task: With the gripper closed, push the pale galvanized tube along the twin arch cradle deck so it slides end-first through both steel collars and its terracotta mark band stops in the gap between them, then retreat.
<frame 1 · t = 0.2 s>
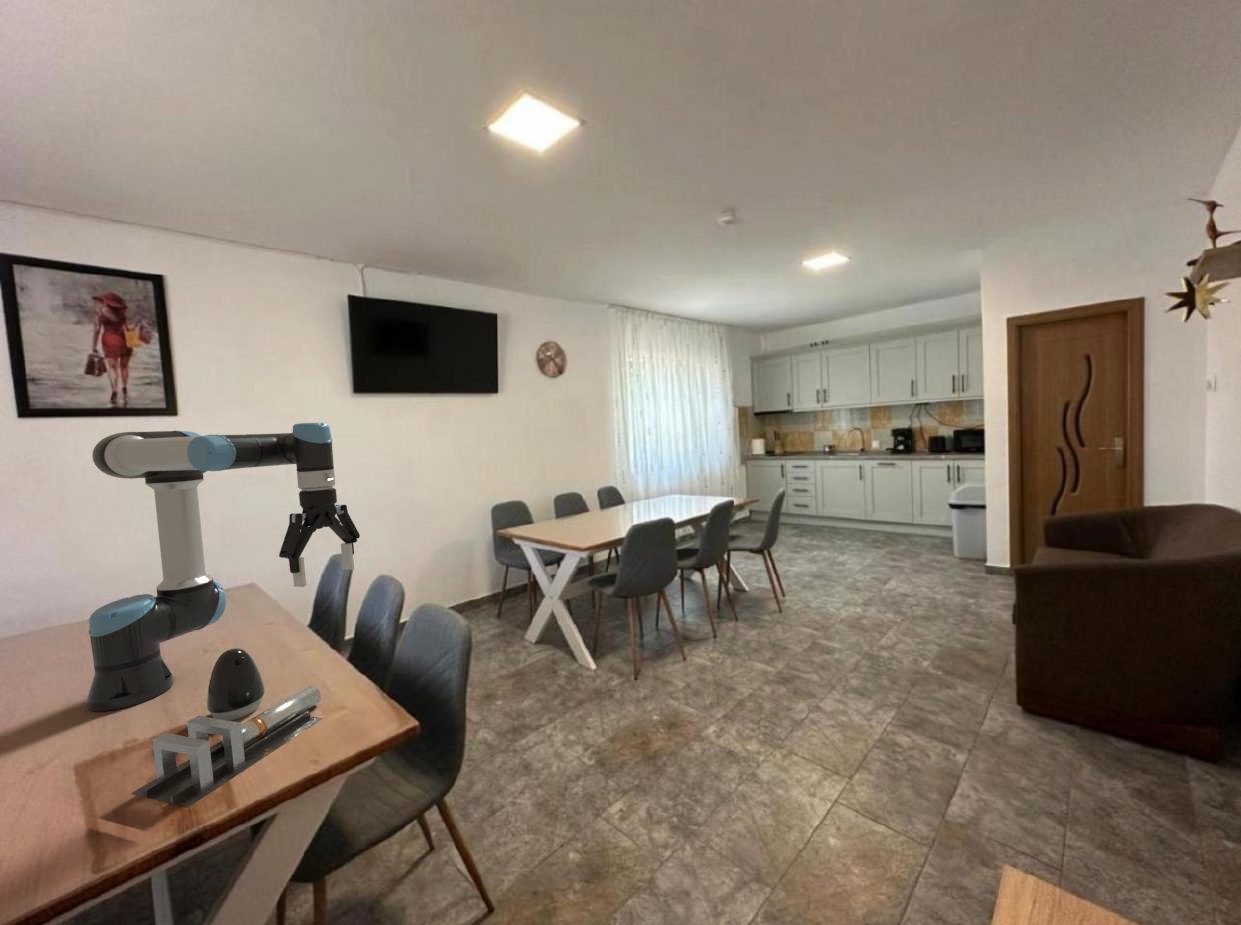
hand: (325, 577, 119), 28 cm above the table, fingers open, 13 cm apart
black tall rounded dome: (238, 716, 112), on the table
tube: (276, 727, 105), point 1 cm above the table, touching twin arch cradle
twin arch cradle: (237, 756, 97), on the table
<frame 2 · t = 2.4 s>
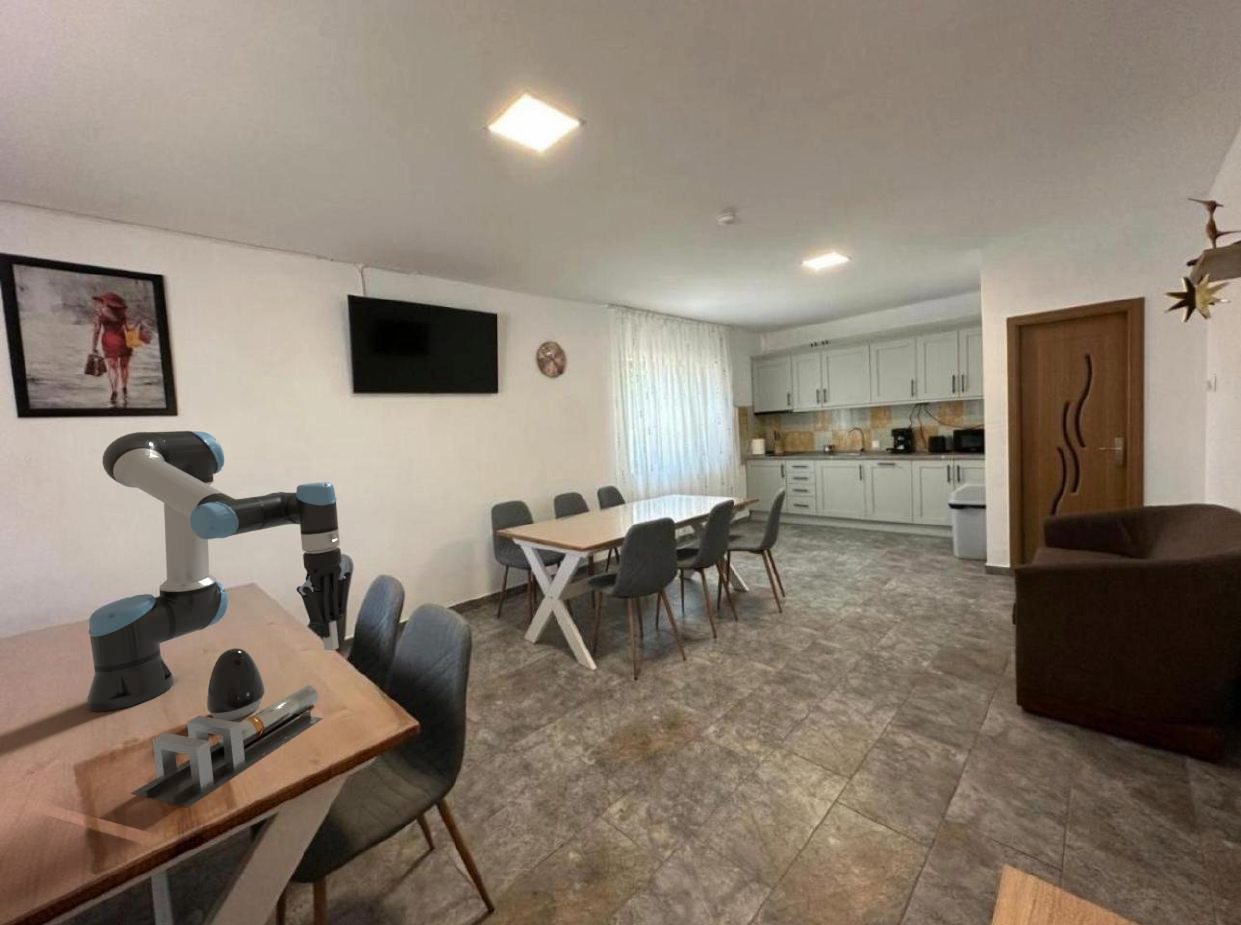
hand: (331, 648, 118), 12 cm above the table, fingers closed
tube: (276, 726, 105), point 1 cm above the table, tilted 21°, touching twin arch cradle
everything else where it was.
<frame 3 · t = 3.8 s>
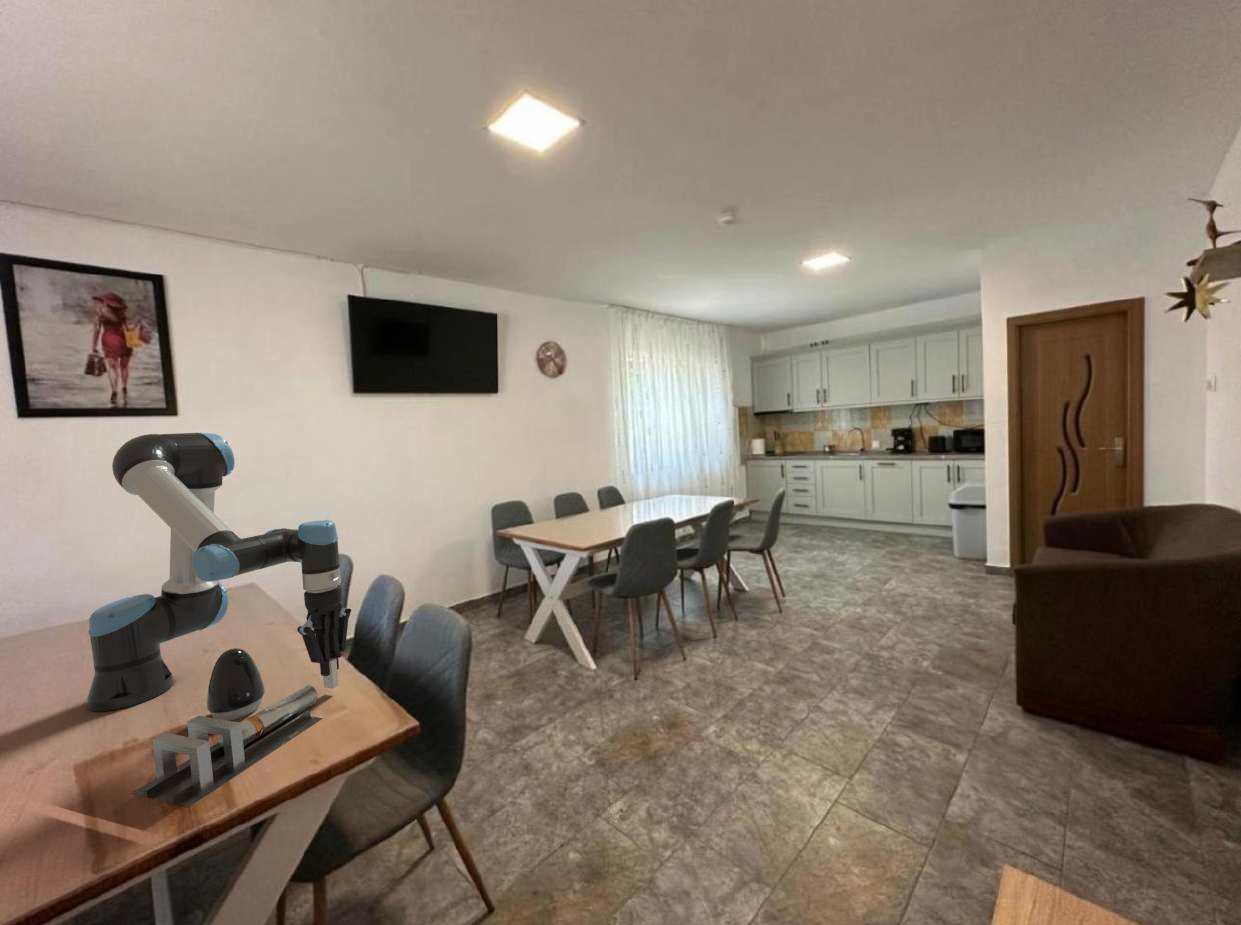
hand: (331, 686, 118), 3 cm above the table, fingers closed
nothing on the table moved.
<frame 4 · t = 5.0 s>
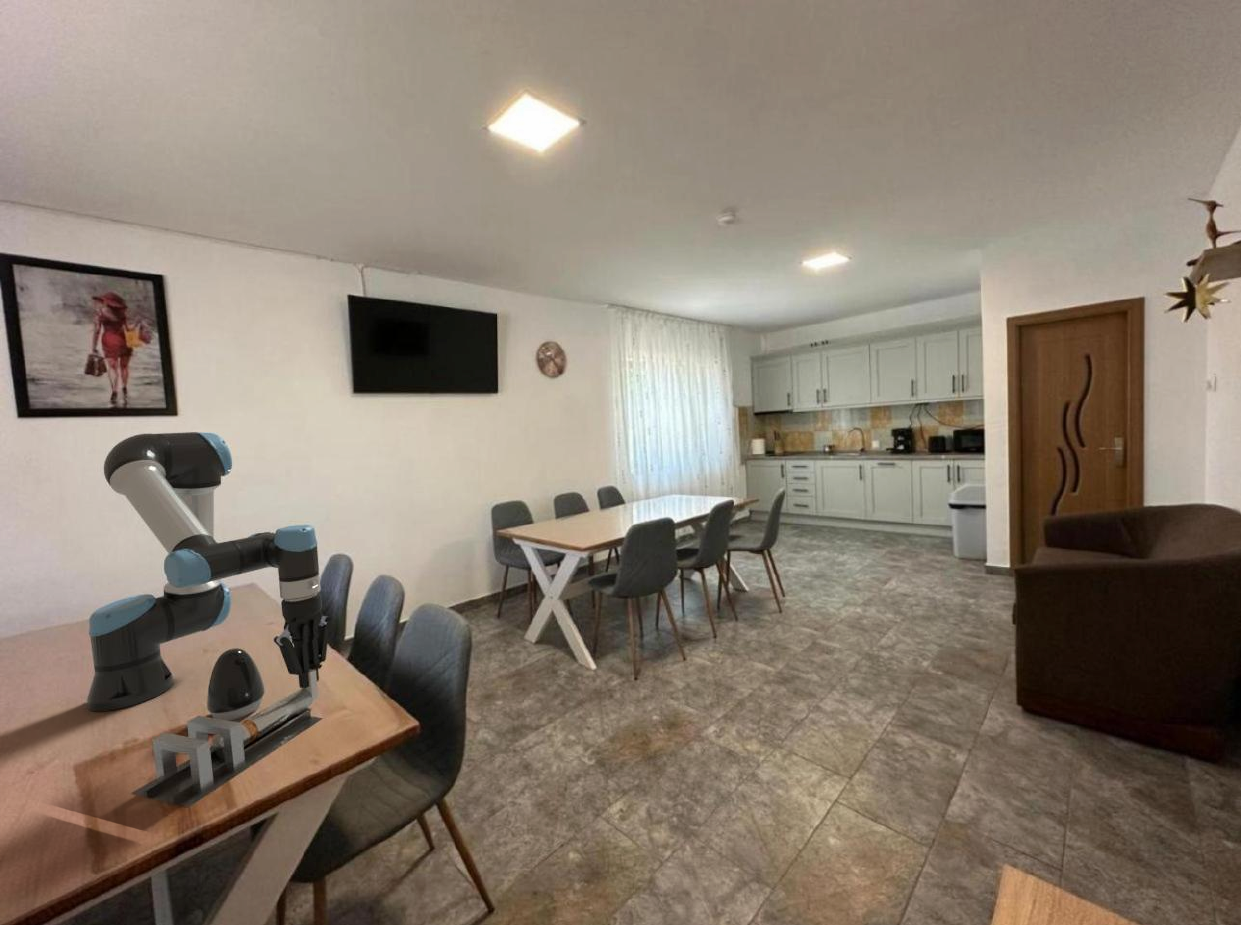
hand: (310, 698, 113), 3 cm above the table, fingers closed
tube: (270, 730, 103), point 1 cm above the table, tilted 21°, touching gripper
everything else where it was.
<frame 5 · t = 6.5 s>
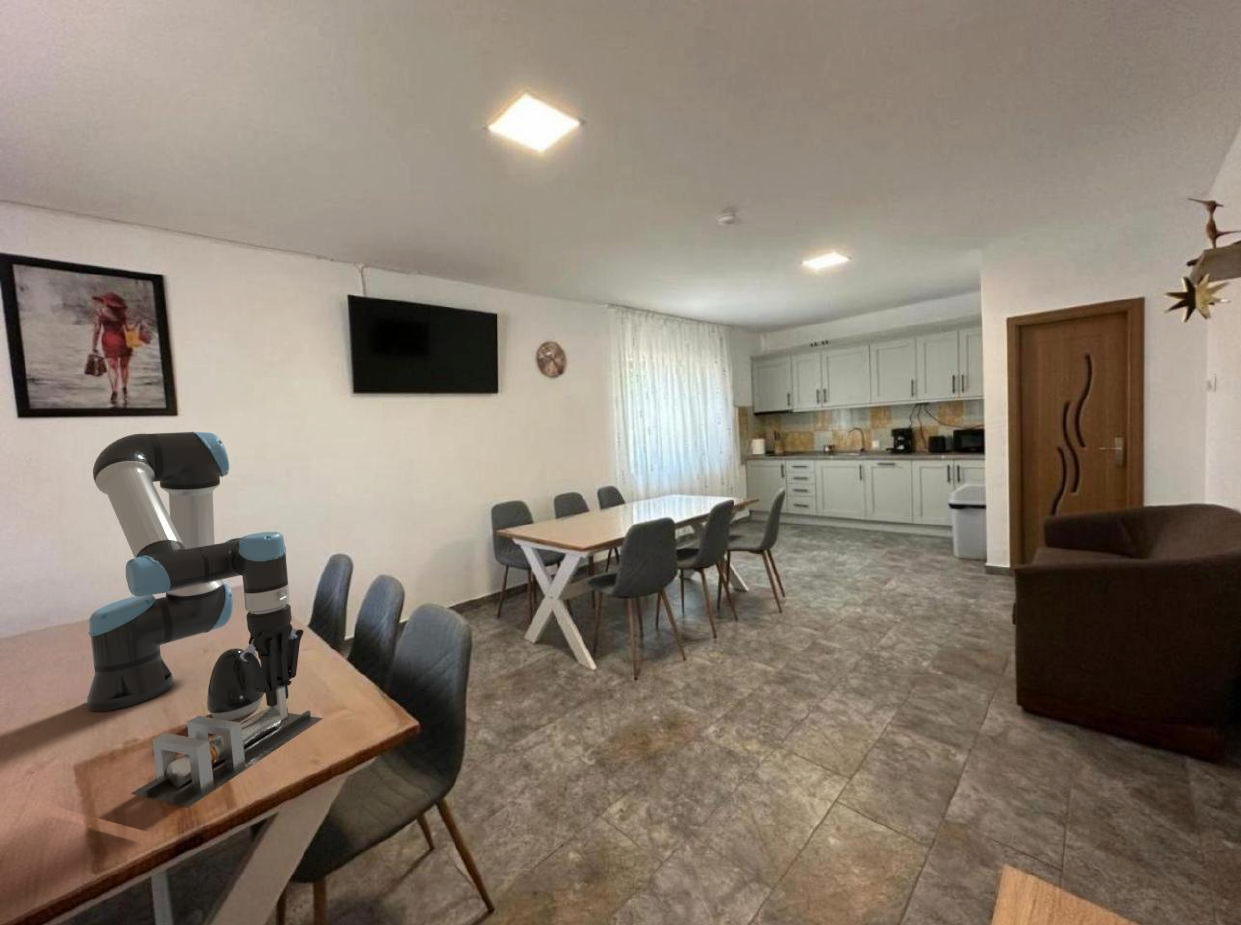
hand: (279, 717, 105), 3 cm above the table, fingers closed
tube: (232, 753, 96), point 1 cm above the table, tilted 21°, touching gripper
everything else where it was.
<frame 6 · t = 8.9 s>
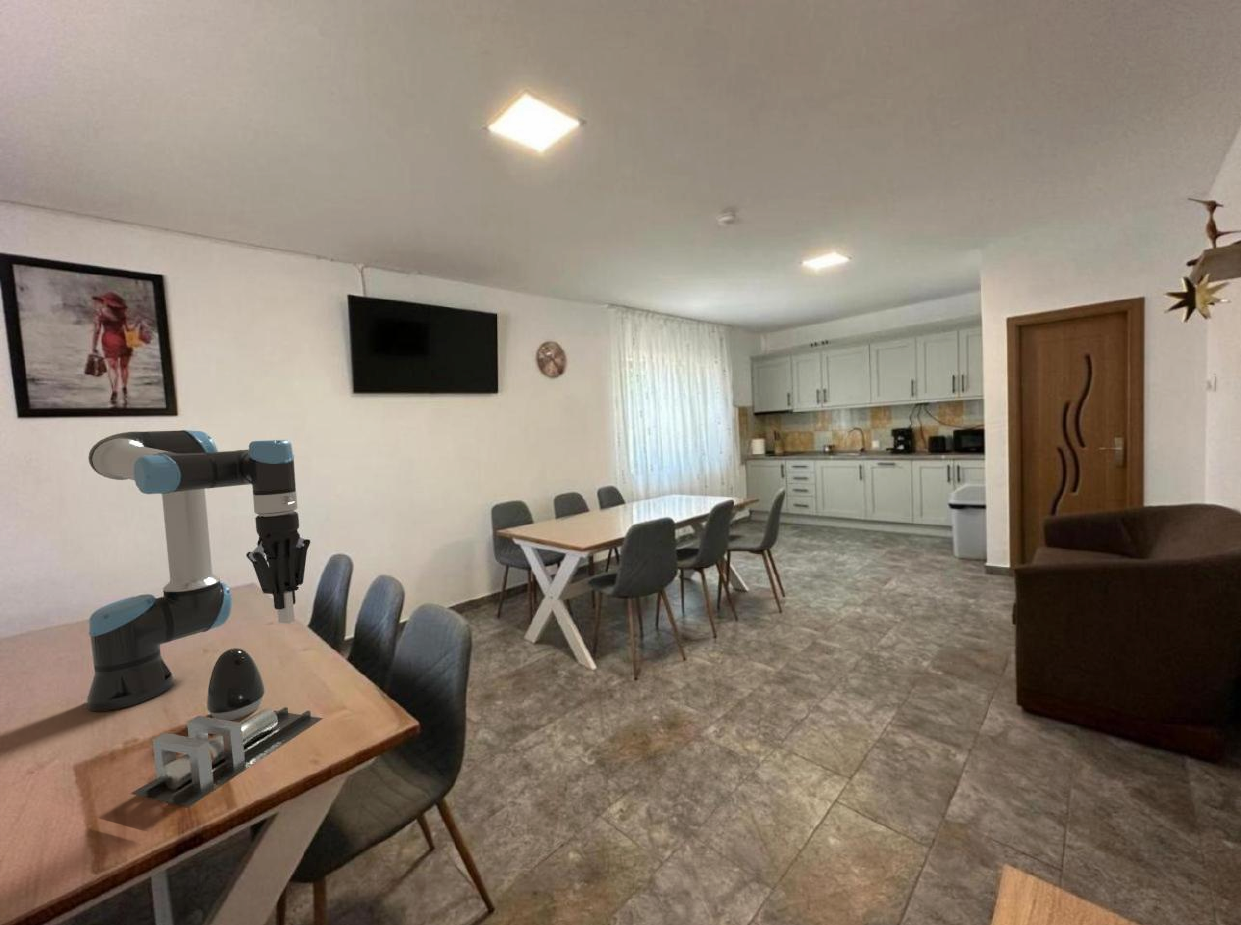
hand: (286, 621, 108), 22 cm above the table, fingers closed
tube: (228, 755, 96), point 1 cm above the table, tilted 23°, touching twin arch cradle
everything else where it was.
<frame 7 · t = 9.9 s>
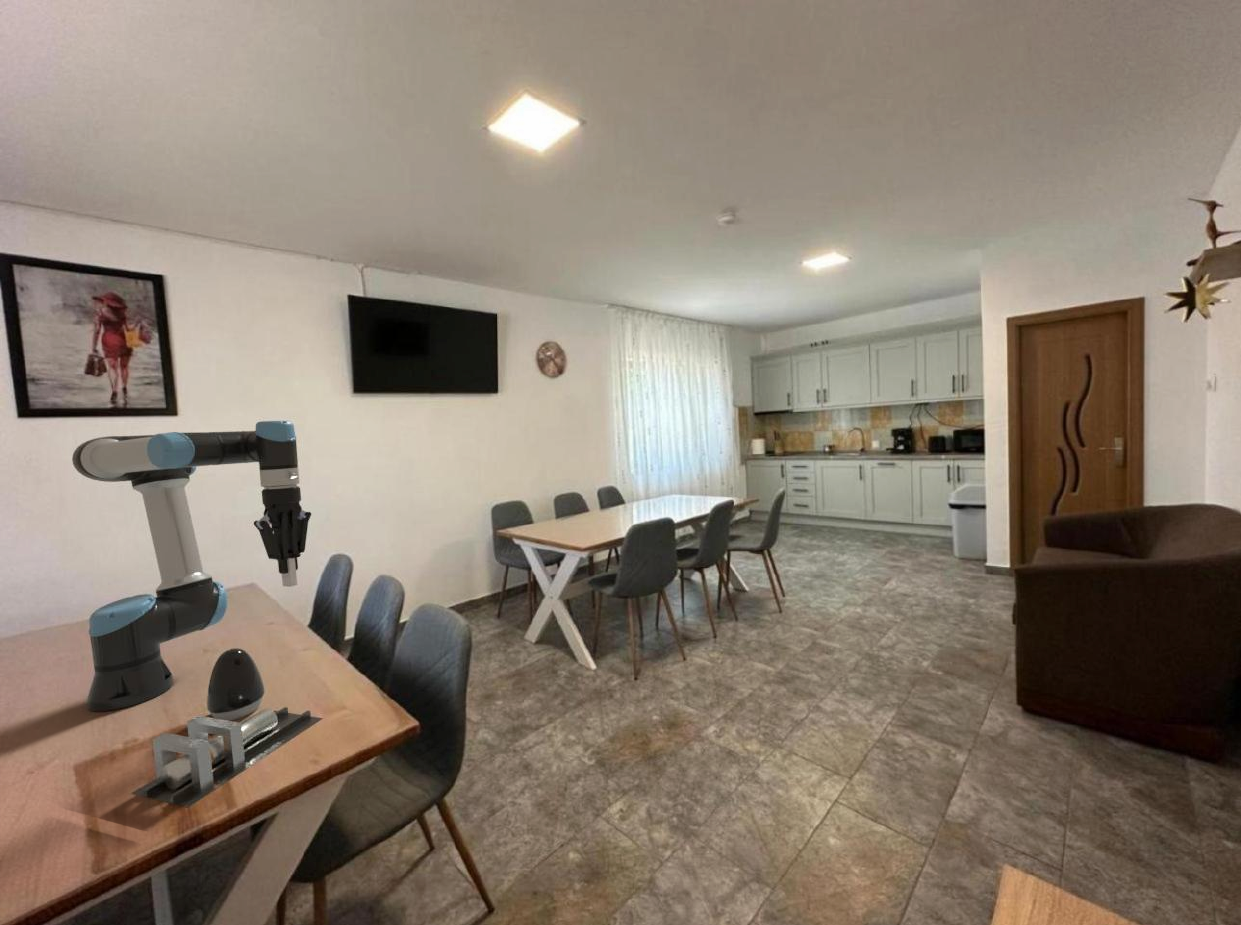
hand: (290, 585, 119), 26 cm above the table, fingers closed
nothing on the table moved.
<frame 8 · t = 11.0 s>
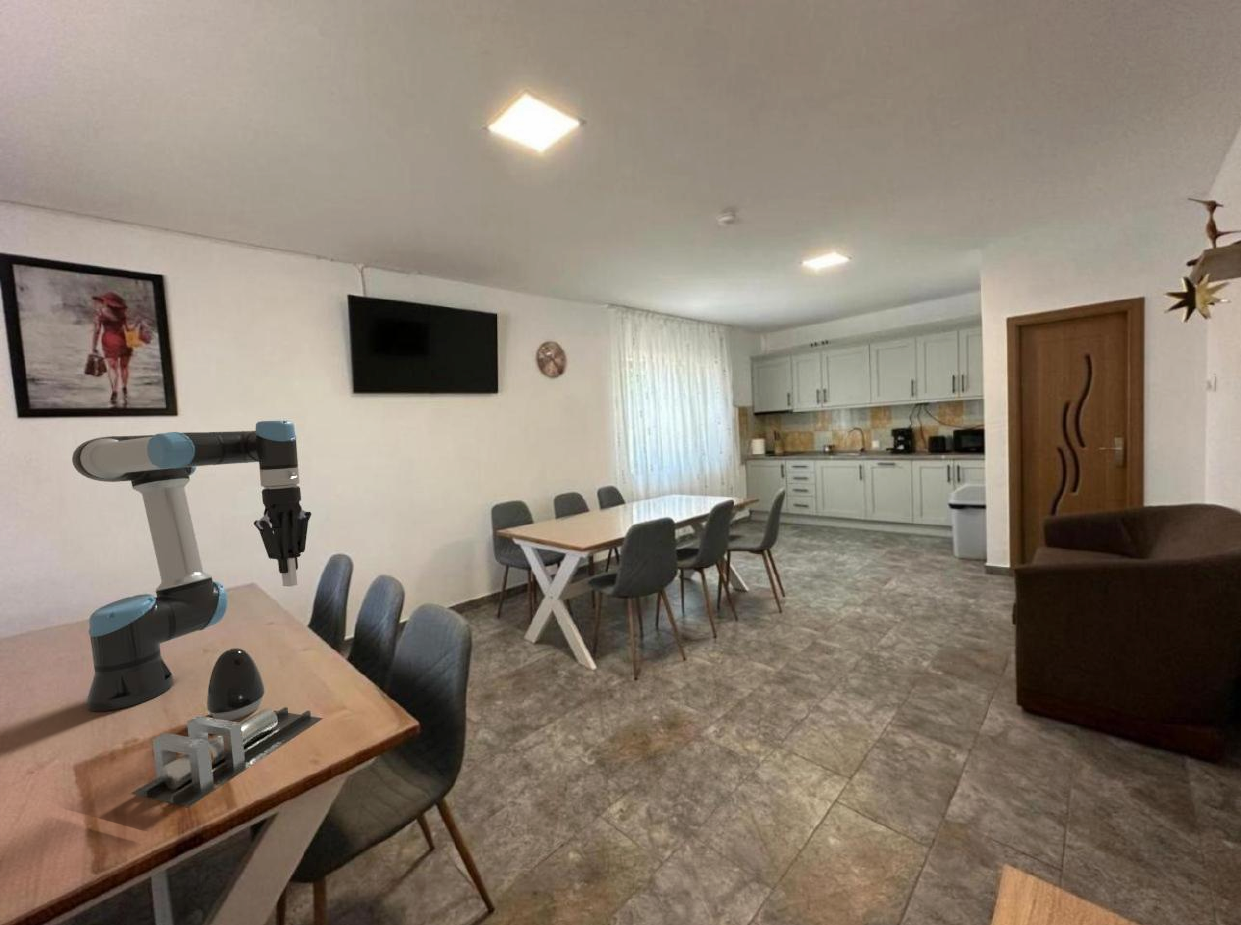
hand: (290, 585, 119), 26 cm above the table, fingers closed
nothing on the table moved.
at the end: tube 1.9 cm from the target spot on the twin arch cradle, point 1.2 cm above the twin arch cradle's base; tube moved 9.6 cm from its start; the gripper is holding nothing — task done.
